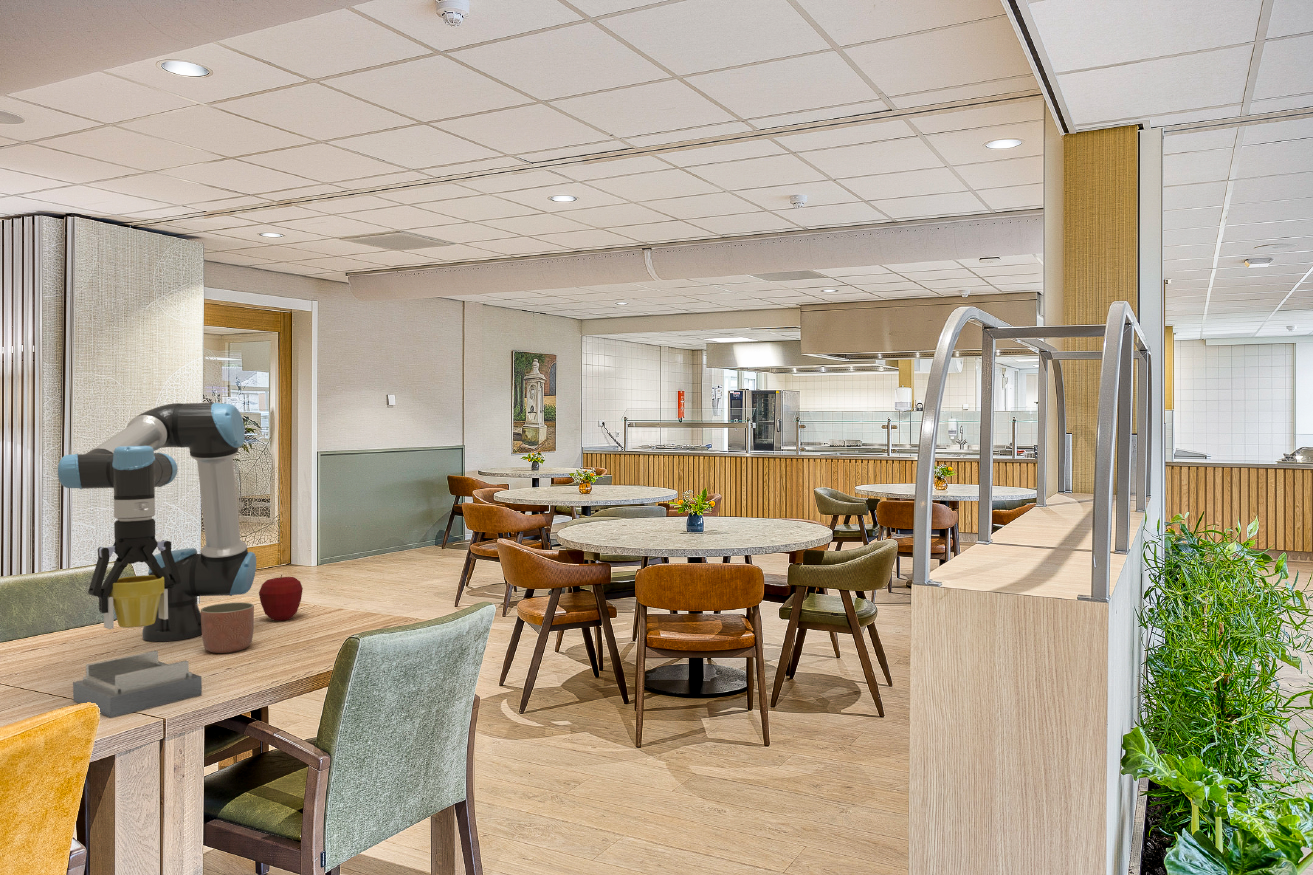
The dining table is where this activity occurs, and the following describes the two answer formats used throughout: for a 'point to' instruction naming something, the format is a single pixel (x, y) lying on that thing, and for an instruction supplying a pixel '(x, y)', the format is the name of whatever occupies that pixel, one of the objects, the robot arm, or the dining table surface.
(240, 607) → the planter
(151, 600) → the plant pot
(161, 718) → the dining table surface
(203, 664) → the dining table surface
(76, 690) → the grey square tray
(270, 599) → the apple
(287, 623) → the dining table surface
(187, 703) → the dining table surface
